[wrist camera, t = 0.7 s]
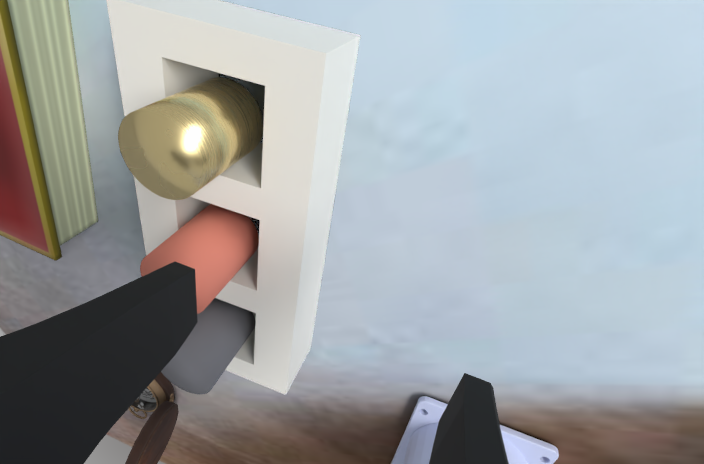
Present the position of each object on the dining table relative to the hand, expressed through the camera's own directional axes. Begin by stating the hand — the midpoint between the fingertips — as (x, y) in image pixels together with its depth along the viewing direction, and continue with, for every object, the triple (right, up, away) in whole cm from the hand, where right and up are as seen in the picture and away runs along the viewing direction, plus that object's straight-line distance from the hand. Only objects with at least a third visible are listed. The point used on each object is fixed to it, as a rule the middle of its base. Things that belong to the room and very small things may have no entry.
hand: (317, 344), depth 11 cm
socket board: (-4, +4, +11) cm, 12 cm away
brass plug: (-4, +7, +6) cm, 10 cm away
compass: (-16, -10, +25) cm, 31 cm away
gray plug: (-6, -2, +12) cm, 13 cm away
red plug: (-5, +3, +9) cm, 11 cm away
